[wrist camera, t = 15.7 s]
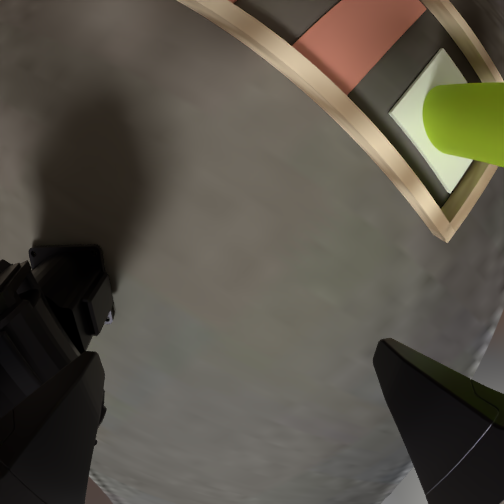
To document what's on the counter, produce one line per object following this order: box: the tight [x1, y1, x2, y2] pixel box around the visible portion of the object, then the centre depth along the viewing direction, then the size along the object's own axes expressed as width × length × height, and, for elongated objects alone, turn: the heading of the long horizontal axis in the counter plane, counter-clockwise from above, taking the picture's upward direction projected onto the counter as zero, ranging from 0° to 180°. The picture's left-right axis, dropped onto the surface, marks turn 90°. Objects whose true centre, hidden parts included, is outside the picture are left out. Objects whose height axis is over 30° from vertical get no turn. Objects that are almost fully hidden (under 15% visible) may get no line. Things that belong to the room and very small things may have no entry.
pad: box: [389, 48, 473, 193], centre depth 19 cm, size 9×9×1 cm
